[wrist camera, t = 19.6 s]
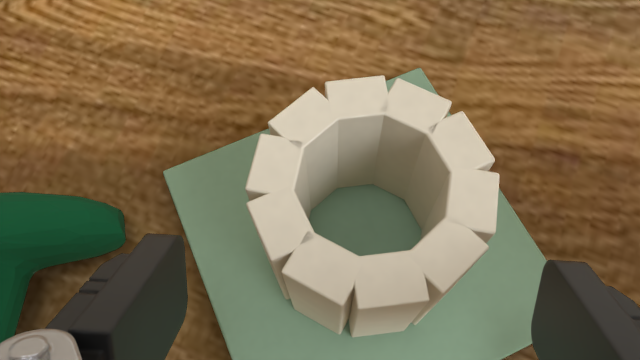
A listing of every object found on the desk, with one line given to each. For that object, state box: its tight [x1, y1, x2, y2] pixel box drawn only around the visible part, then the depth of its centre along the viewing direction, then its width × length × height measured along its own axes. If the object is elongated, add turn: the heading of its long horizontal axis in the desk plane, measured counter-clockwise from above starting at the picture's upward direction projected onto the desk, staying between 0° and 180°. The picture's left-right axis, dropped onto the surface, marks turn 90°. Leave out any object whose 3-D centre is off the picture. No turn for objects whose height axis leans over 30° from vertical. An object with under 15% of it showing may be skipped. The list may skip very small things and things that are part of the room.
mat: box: [163, 68, 547, 360], centre depth 17 cm, size 10×10×1 cm
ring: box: [245, 75, 500, 337], centre depth 15 cm, size 6×6×4 cm
